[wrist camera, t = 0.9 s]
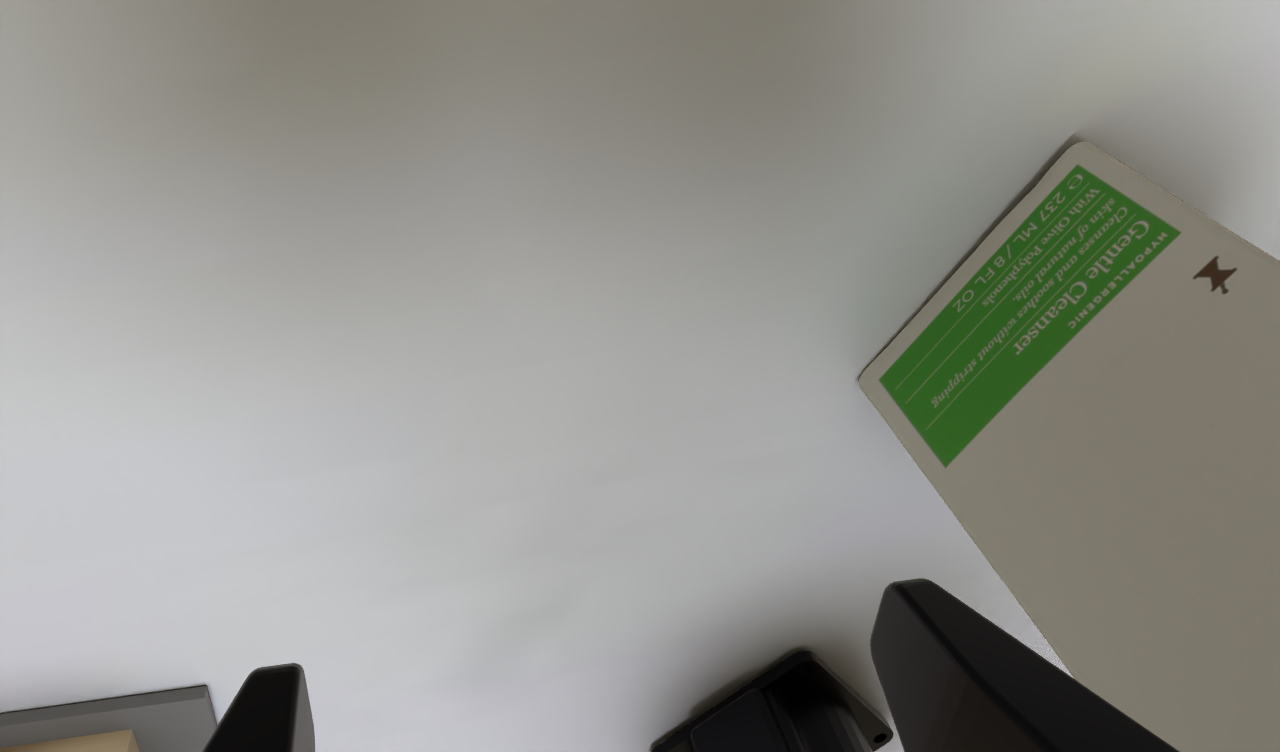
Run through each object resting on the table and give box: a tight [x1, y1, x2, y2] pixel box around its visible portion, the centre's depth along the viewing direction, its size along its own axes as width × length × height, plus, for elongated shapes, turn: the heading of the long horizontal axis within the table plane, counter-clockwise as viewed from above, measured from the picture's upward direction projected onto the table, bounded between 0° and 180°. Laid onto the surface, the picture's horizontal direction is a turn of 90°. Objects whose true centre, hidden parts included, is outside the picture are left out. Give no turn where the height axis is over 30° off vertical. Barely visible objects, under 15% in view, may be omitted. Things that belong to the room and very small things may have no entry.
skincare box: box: [859, 141, 1280, 752], centre depth 20 cm, size 8×7×16 cm
